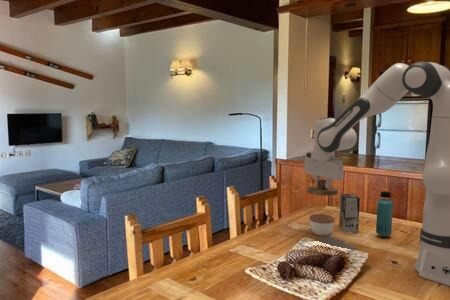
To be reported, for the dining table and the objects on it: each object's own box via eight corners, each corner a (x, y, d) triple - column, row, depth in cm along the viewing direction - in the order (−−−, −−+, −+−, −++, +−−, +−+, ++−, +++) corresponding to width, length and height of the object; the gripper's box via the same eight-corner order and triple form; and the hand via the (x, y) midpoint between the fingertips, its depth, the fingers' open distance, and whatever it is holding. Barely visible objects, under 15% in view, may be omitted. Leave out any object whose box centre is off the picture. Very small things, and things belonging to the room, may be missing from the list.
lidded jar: (336, 233, 170) (337, 212, 169) (329, 240, 161) (330, 218, 160) (313, 229, 176) (314, 209, 175) (305, 235, 167) (306, 214, 166)
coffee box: (358, 233, 170) (360, 198, 168) (344, 233, 170) (345, 198, 168) (352, 227, 179) (353, 193, 177) (338, 226, 179) (339, 193, 177)
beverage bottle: (388, 234, 169) (391, 190, 166) (393, 239, 162) (396, 193, 160) (373, 234, 169) (375, 189, 167) (377, 239, 163) (380, 193, 160)
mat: (358, 250, 150) (358, 248, 150) (328, 258, 142) (329, 256, 142) (328, 238, 164) (328, 236, 164) (299, 244, 156) (299, 243, 156)
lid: (344, 193, 164) (344, 181, 163) (322, 196, 157) (322, 184, 157) (322, 187, 175) (322, 176, 175) (300, 190, 168) (301, 179, 168)
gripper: (348, 157, 157) (346, 190, 159) (312, 152, 175) (311, 181, 176) (337, 158, 154) (335, 192, 156) (302, 153, 171) (301, 183, 173)
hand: (322, 186), depth 166 cm, fingers closed on lid, 3 cm apart
